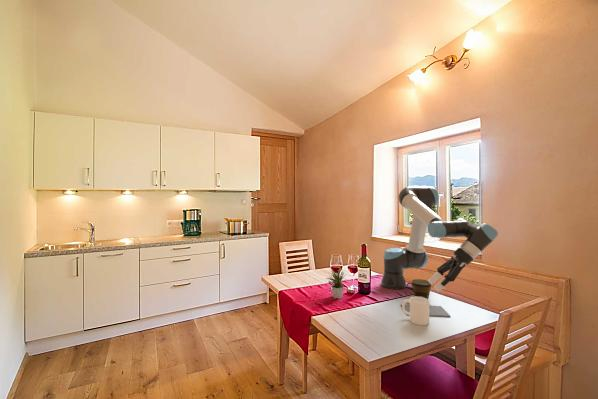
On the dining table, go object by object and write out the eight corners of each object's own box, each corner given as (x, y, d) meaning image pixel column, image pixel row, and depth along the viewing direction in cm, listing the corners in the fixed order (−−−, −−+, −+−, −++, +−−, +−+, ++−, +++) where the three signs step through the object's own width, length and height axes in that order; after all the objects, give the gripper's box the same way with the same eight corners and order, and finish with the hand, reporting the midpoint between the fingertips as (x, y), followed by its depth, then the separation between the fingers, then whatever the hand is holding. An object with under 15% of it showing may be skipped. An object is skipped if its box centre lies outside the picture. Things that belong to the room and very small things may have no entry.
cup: (425, 327, 124) (426, 304, 124) (398, 319, 132) (399, 298, 132) (431, 321, 130) (431, 299, 130) (405, 313, 138) (405, 293, 138)
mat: (440, 307, 146) (440, 305, 146) (450, 317, 134) (450, 315, 134) (400, 305, 149) (400, 304, 148) (406, 315, 137) (406, 313, 137)
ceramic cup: (426, 296, 161) (426, 279, 161) (434, 303, 151) (434, 284, 151) (403, 296, 162) (403, 279, 162) (410, 303, 152) (410, 284, 152)
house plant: (327, 291, 171) (327, 264, 171) (350, 293, 167) (350, 265, 167) (322, 299, 157) (322, 270, 157) (347, 301, 154) (347, 272, 153)
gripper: (484, 263, 114) (446, 300, 117) (464, 255, 139) (433, 285, 141) (469, 250, 116) (432, 286, 119) (451, 244, 140) (421, 274, 143)
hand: (432, 286), depth 130 cm, fingers open, 13 cm apart
